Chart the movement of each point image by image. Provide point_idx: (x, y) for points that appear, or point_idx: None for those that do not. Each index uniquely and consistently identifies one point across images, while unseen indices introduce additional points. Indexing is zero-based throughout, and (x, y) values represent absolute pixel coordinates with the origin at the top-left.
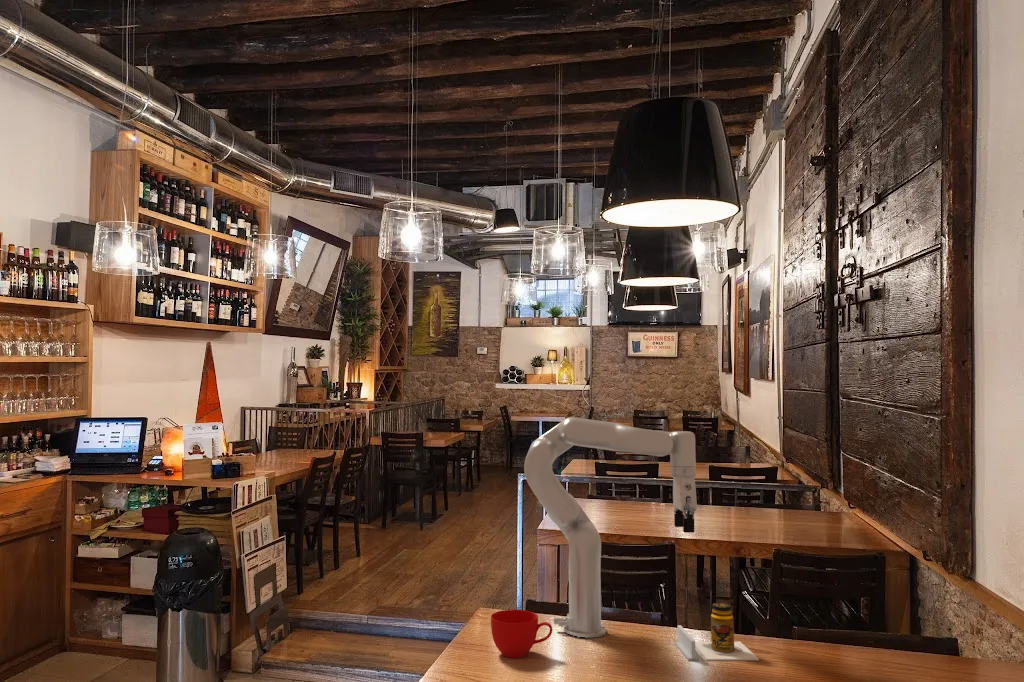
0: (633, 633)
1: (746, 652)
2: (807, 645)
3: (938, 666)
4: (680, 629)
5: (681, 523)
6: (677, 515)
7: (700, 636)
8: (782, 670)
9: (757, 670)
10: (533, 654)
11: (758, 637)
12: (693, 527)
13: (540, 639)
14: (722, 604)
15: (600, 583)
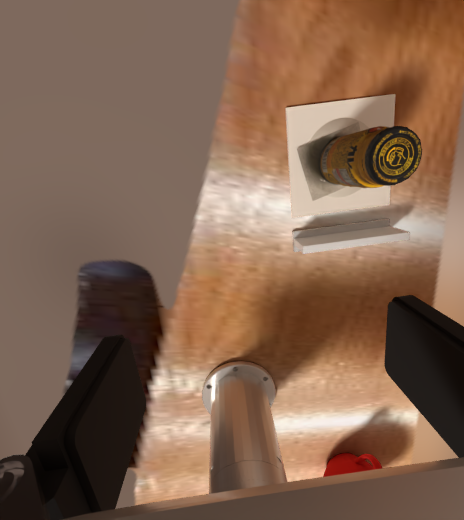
0: (238, 317)
1: (357, 111)
2: None
3: None
4: (327, 250)
5: (126, 381)
6: (106, 492)
7: (245, 191)
8: (453, 57)
9: (445, 114)
10: (344, 445)
11: (241, 46)
12: (439, 319)
13: (364, 460)
14: (387, 152)
15: (253, 449)
